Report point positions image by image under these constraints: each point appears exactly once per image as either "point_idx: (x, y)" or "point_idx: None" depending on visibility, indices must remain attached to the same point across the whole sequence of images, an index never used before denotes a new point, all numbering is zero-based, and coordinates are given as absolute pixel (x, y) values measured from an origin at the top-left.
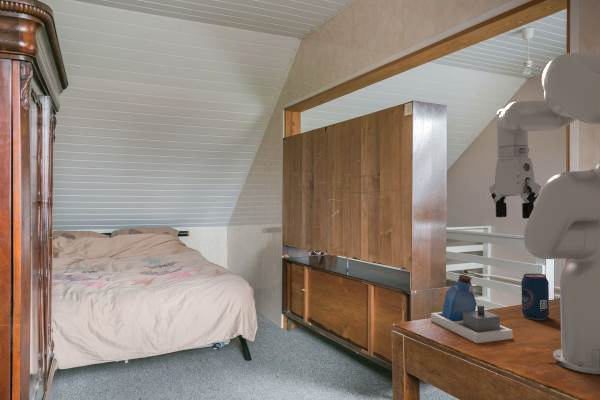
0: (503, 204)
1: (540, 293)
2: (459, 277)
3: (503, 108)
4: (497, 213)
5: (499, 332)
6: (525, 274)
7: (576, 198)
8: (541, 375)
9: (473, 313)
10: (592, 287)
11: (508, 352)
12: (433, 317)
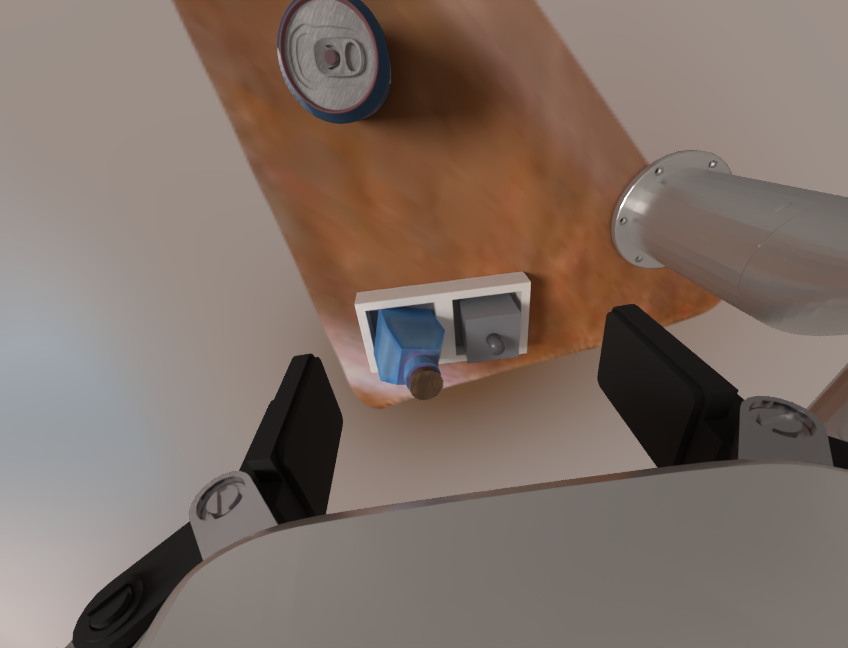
0: (302, 470)
1: (389, 78)
2: (423, 397)
3: None
4: (335, 442)
5: (528, 309)
6: (292, 81)
7: None
8: (654, 311)
9: (482, 349)
10: None
11: (561, 305)
12: None
